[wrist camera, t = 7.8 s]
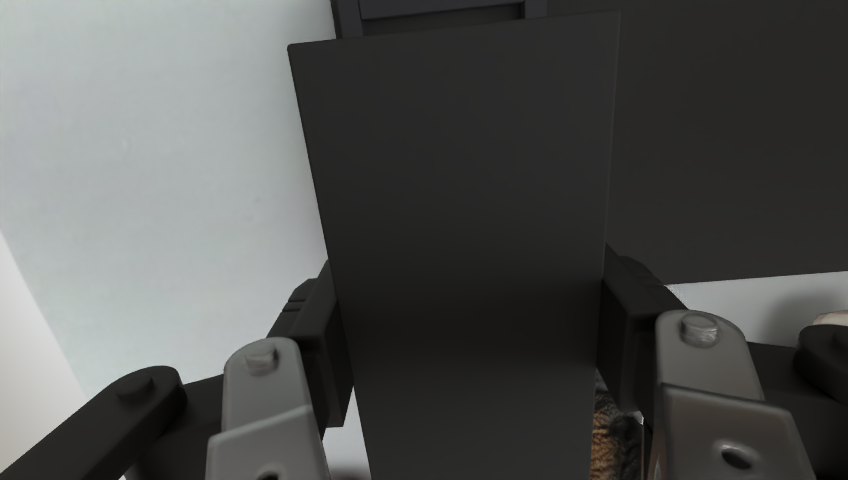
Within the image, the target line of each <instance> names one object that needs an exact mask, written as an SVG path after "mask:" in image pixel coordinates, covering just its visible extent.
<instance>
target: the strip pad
mask: <svg viewBox="0 0 848 480" xmlns="http://www.w3.org/2000/svg"><path fill="white" fill-rule="evenodd" d="M620 15H621V13H620V10H618V9H611V10H602V11H593V12H583V13H574V14H565V15H556V16H546V17H537V18H528V19H518V20H509V21H500V22H490V23H481V24H472V25H462V26H453V27H444V28H434V29H425V30H416V31H406V32H397V33H388V34H379V35H369V36H360V37H351V38H341V39H332V40H323V41H313V42H304V43H295V44H290V45H288V47H287V51H288V56H289V61H290V66H291V72H292V77H293V82H294V87H295V92H296V97H297V102H298V107H299V112H300V117H301V122H302V127H303V132H304V137H305V143H306V148H307V153H308V158H309V163H310V168H311V173H312V178H313V183H314V188H315V193H316V198H317V203H318V209H319V214H320V219H321V224H322V229H323V234H324V239H325V244H326V249H327V254H328V259H329V264H330V269H331V274H332V280H333V285H334V290H335V295H336V297H338V301H339V306H340V312H341V317H342V322H343V327H344V332H345V337H346V342H347V347H348V353H349V358H350V363H351V368H352V373H353V378H354V384H353V386H354V391H355V396H356V401H357V406H358V411H359V417H360V422H361V427H362V432H363V437H364V442H365V447H366V452H367V457H368V462H369V467H370V472H371V477H372V480H590V466H591V451H592V436H593V421H594V406H595V391H596V376H597V367H596V365H597V350H598V335H599V320H600V305H601V290H602V278H603V270H604V255H605V240H606V225H607V210H608V195H609V180H610V165H611V150H612V135H613V120H614V105H615V90H616V75H617V60H618V45H619V30H620Z"/></svg>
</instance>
